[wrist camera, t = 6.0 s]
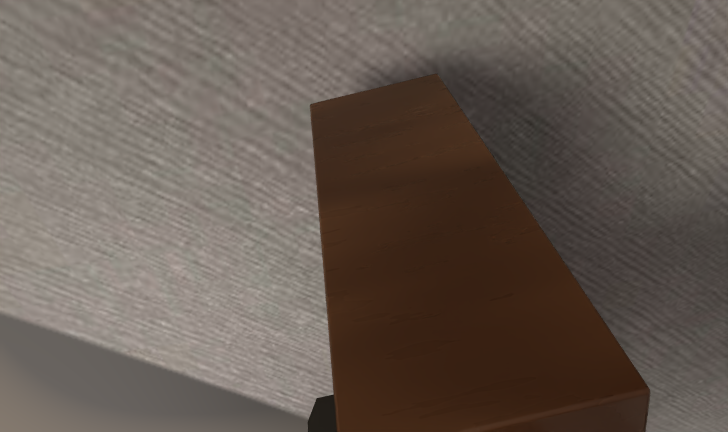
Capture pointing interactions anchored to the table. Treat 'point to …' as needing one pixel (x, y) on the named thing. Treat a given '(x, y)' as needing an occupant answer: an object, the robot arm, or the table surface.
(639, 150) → the table surface
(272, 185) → the table surface
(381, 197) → the brown wooden box
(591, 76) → the table surface
